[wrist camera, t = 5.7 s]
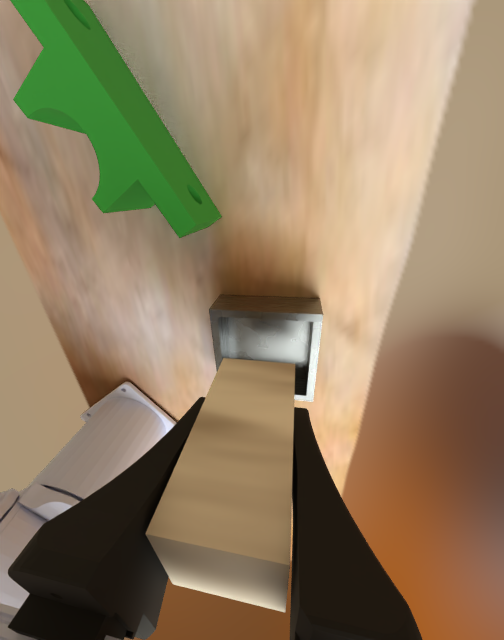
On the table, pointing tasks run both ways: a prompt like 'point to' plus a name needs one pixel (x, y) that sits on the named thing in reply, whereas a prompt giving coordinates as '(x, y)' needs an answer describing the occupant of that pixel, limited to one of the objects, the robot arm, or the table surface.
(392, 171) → the table surface
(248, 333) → the dark gray open tray
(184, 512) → the rail post
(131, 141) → the pipe clamp
